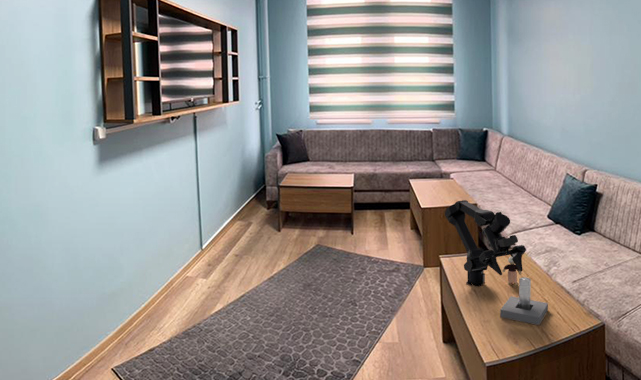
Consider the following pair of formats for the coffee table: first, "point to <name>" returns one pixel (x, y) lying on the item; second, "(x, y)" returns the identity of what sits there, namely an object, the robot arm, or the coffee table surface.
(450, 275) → the coffee table surface
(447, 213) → the robot arm
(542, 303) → the pocket block
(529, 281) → the steel peg
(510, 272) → the grandmother figurine
